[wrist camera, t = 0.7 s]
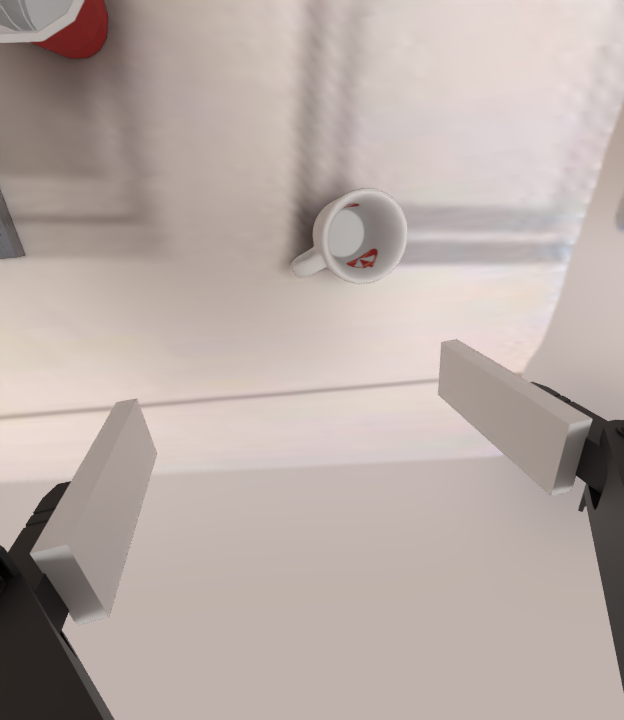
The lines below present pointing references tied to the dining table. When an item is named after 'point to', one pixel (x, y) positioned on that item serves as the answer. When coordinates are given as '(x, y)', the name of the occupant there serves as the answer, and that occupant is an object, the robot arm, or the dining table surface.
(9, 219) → the panel
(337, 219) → the cup
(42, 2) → the plastic cup
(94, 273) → the dining table surface
